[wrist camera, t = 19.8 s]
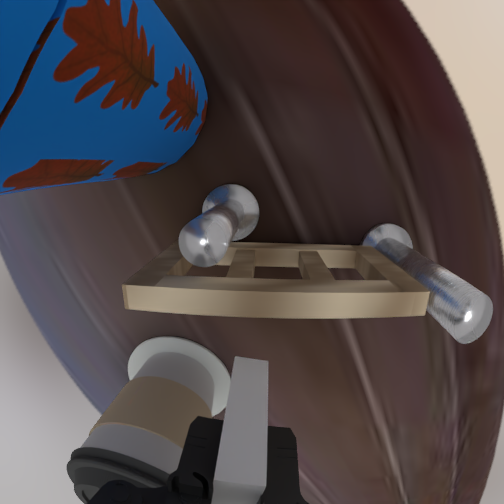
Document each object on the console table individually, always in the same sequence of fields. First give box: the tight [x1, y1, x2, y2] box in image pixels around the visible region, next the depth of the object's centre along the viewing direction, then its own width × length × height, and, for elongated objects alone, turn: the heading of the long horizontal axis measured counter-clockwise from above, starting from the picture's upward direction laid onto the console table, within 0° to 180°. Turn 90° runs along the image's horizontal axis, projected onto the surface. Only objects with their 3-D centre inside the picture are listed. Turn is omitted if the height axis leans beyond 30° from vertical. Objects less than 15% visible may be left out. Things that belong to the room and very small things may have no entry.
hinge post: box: [360, 223, 493, 344], centre depth 16 cm, size 4×4×12 cm
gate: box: [122, 241, 430, 319], centre depth 17 cm, size 14×1×9 cm, turn 89°
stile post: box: [179, 184, 259, 267], centre depth 17 cm, size 4×4×10 cm
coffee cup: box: [67, 352, 215, 504], centre depth 18 cm, size 9×9×15 cm
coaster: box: [128, 336, 231, 416], centre depth 26 cm, size 10×10×1 cm
